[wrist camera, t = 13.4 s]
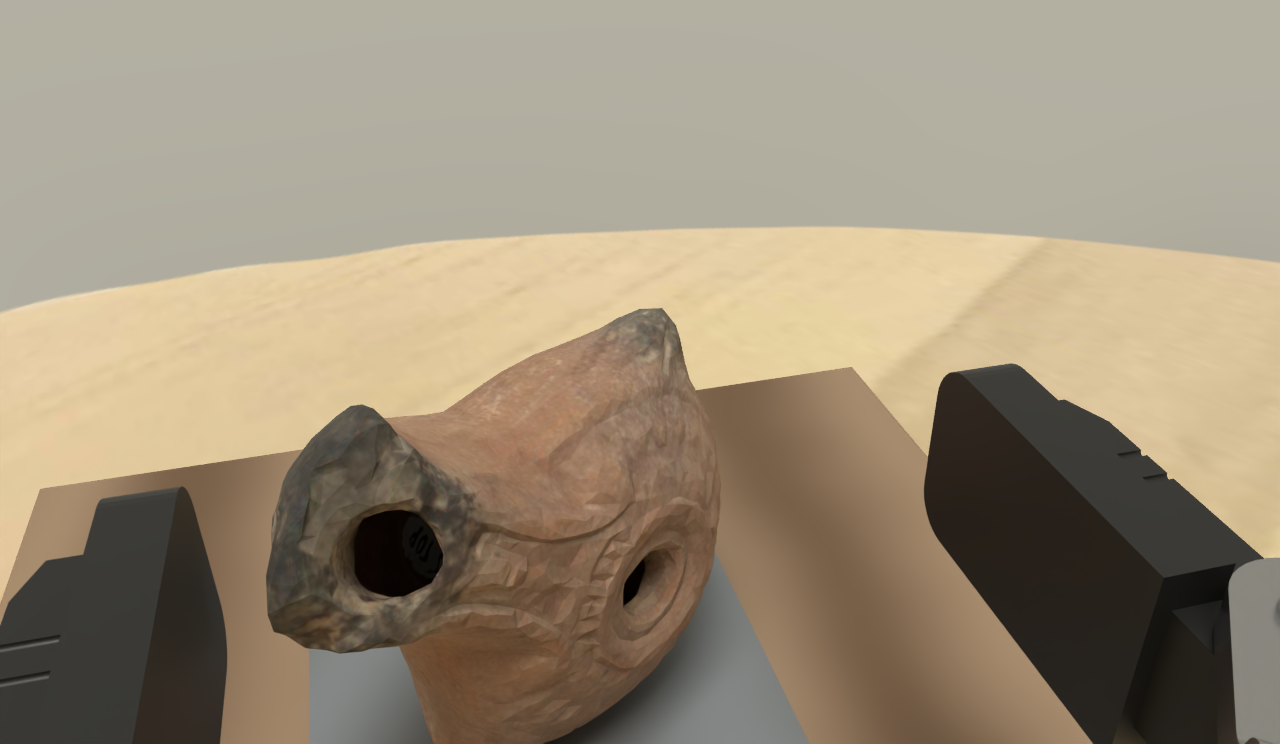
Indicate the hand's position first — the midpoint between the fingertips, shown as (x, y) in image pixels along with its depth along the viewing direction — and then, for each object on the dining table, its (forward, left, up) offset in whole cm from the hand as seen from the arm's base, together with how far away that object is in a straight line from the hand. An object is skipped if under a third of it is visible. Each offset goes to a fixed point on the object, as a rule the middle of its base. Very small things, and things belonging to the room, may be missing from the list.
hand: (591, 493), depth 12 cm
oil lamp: (0, -4, -8) cm, 8 cm away
